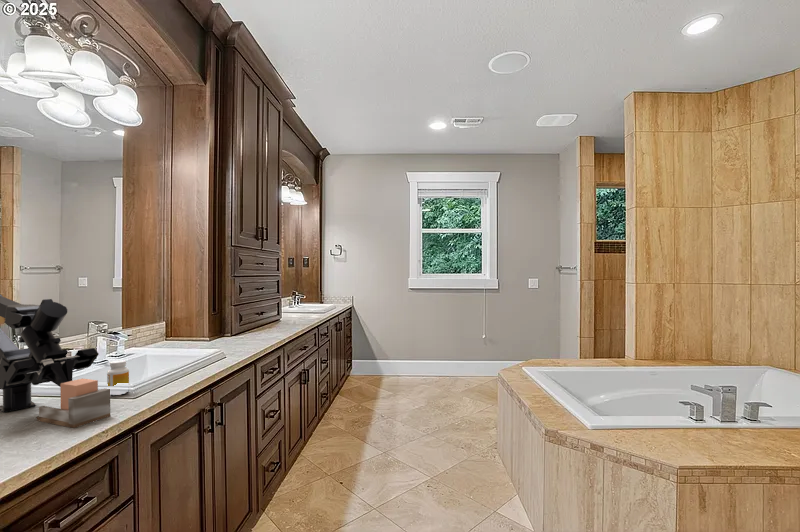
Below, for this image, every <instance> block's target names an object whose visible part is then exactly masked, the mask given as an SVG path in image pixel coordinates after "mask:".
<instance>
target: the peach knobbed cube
mask: <svg viewBox="0 0 800 532" xmlns="http://www.w3.org/2000/svg"><path fill="white" fill-rule="evenodd" d="M98 384H99V380H97V379H96V380H95V379H91V378H90V379H88V378H78V379H72V381H69V382H65V383H61V384H60V387H59V388H60V409H63V410H69V406H68V398H71V397H75V396H79V395H83V394H86V393H90V392H94V391H98V390H99V385H98Z"/></svg>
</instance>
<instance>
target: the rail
mask: <svg viewBox="0 0 800 532" xmlns="http://www.w3.org/2000/svg"><path fill="white" fill-rule="evenodd" d="M68 406H69V410H63V409H61V408H58V407H57V408H56V407H53V406H52V407H51V406H45V405H41V406H39V407H38V416H37V417H36V421H37V422H42V423H47V424H52V425H56V426H61V427H67V428H72V429H75V428H79V427H83V426H85V425H88V424H90V422H91V423H94V422H96V420H97V421H100V420H103V419H107V418H110V417H111V396H110V389H107V388H101V389H98V391H94V392H90V393H86V394H83V395H79V396H75V397H71V398H68ZM93 421H94V422H93ZM84 424H85V425H84Z"/></svg>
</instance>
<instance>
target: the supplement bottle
mask: <svg viewBox="0 0 800 532" xmlns="http://www.w3.org/2000/svg"><path fill="white" fill-rule="evenodd" d="M126 365H127V361H126V360H125V359H124V360H123V359H120V360H114V361H110V362H109V368H110V369H108V371H107V373H106V375H107V376H106V377H107V380H106V381H107V382H106V384H108V386H114V385H116V384H117V383H129V384H130V369H129V367H126Z"/></svg>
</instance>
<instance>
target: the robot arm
mask: <svg viewBox="0 0 800 532" xmlns="http://www.w3.org/2000/svg"><path fill="white" fill-rule="evenodd" d="M67 313H68V308H67V306H64V305H63V304H61V303H59V302H56V301H53V299H52V298H47V299H42V300H41V302H40V304H24V303H23V304H22V303H19V302H17V301H15V300H12V299H9V298H7V297H4V296H3V295H2V294H1V293H0V317H1V318H3V319H4V324H5V325H7V326H8V327H9V328H10V329H13V330H17V329H22V332H21V333H20V337H19V338H18V342H19V344H23V343H25V344H26V347H27V348H21V349H20V348H19V347H18V346H17V344H15V342H14V341H12V339H11V338H10V337H9V336H8V335H7V333H6V332H5V331H4V330H3V328H1V327H0V390H2V405H0V409H1V410H2V411H1V410H0V411H1V412H3V413H7V412H6V411H9V412H13V410H14V411H17V410H23V409H29V408H31V407H36V405H37V404H36V403H35V402H34V401H33V400H32V385H33V386H38V385H40V384H44V383H50V382H51V383H53V384H55V385H56V386H58V387H59V388H60V384H61V383H65V382H69V381H73V372H74V370H83V369H87V368H90V367H91V366H92V365H93V364H94V361H96V359H97V357H98V356H99V352H98V350H97V348H95V347H90V348H89V347H88V348H82V349H78V350H77V351H76V353H75V355H72V356H71V355H70V356H67V354H68V353H69V352H68V350H67V349H63V348H62V346H61V345H60V343H61V341H62V340H61V338H60V337H55V335H54V333H53V332H54V331H56V330H57V329H58V328H59V327H60V325H61V323H62V322H63V321H64V318H66V315H67Z"/></svg>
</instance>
